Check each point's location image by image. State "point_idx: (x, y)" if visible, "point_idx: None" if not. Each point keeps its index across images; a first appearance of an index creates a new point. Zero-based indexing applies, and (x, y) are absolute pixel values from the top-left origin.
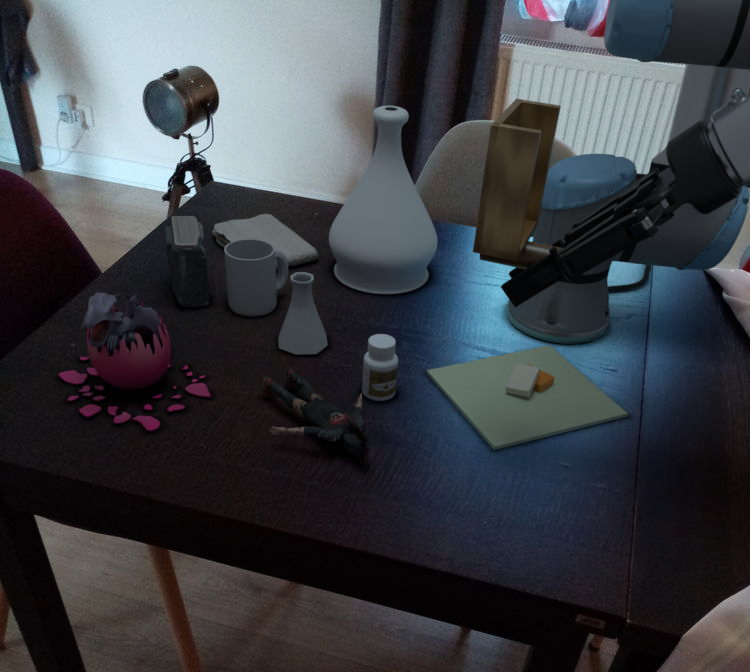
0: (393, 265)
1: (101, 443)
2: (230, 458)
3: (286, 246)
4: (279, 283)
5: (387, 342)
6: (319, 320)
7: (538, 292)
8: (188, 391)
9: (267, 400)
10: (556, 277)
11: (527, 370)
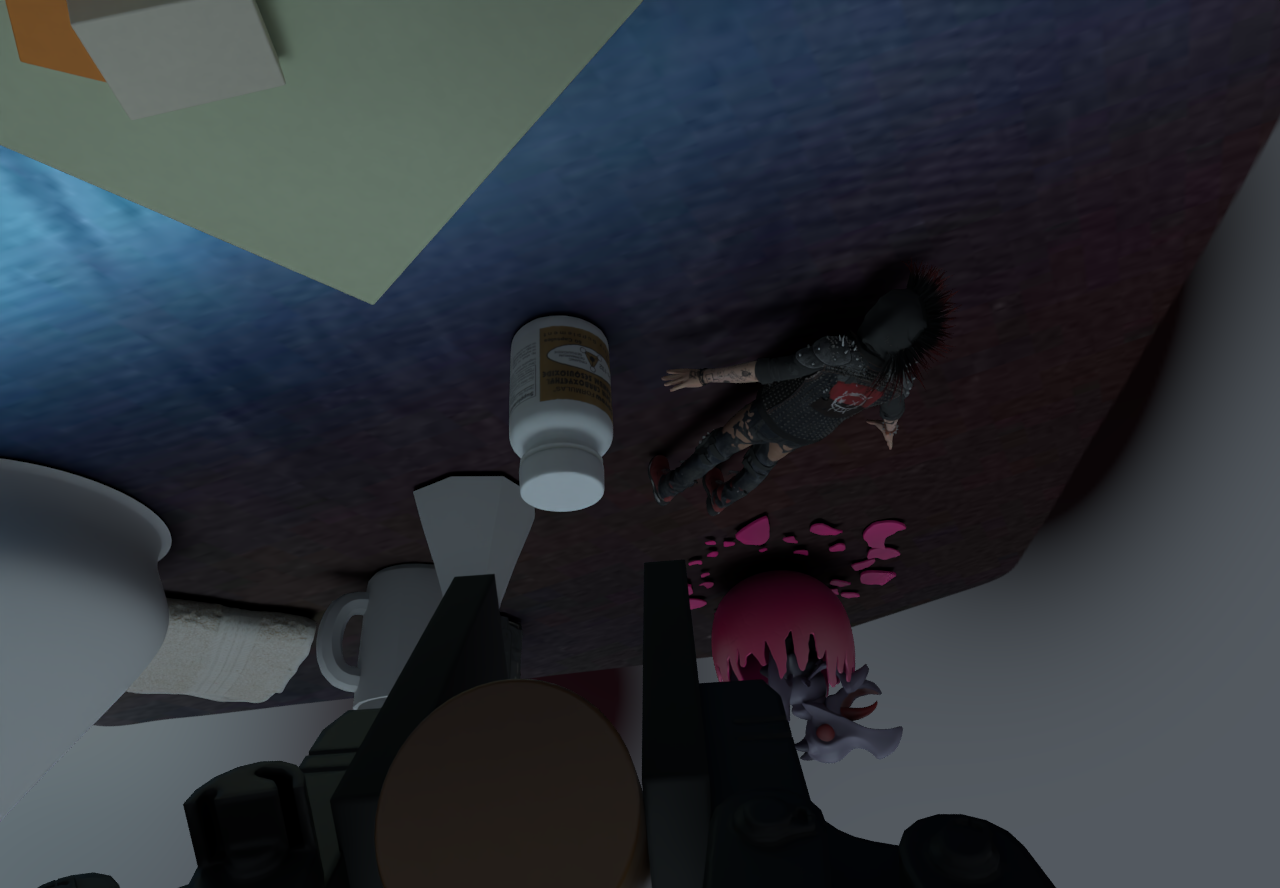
0: (75, 564)
1: (950, 540)
2: (946, 431)
3: (204, 646)
4: (352, 609)
5: (562, 484)
6: (448, 542)
7: (690, 638)
8: (767, 537)
9: (724, 463)
10: (807, 792)
11: (135, 61)
